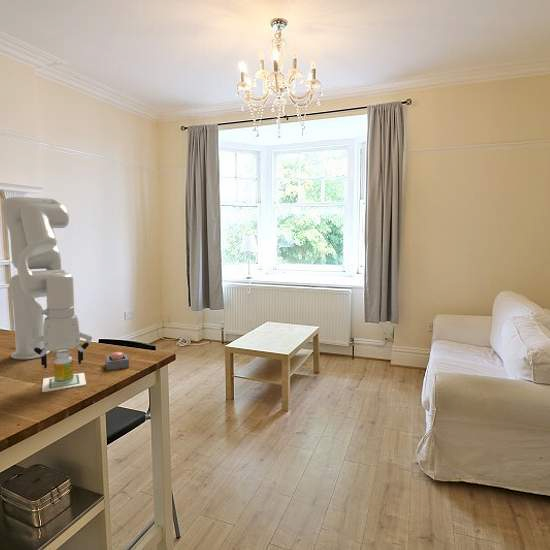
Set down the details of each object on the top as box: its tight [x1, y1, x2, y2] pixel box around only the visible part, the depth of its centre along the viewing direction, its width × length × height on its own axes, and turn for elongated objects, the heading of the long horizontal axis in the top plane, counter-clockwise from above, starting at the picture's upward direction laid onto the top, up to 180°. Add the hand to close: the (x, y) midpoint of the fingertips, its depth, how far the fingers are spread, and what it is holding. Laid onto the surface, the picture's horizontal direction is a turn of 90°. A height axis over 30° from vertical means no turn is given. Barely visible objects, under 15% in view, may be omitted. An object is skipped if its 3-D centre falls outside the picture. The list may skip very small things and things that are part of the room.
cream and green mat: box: [41, 372, 87, 393], centre depth 127 cm, size 11×12×1 cm
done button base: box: [105, 353, 130, 371], centre depth 143 cm, size 7×7×3 cm
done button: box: [110, 351, 124, 361], centre depth 142 cm, size 4×4×2 cm
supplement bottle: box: [53, 349, 74, 384], centre depth 126 cm, size 5×5×10 cm
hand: (62, 364), depth 127 cm, fingers open, 9 cm apart
